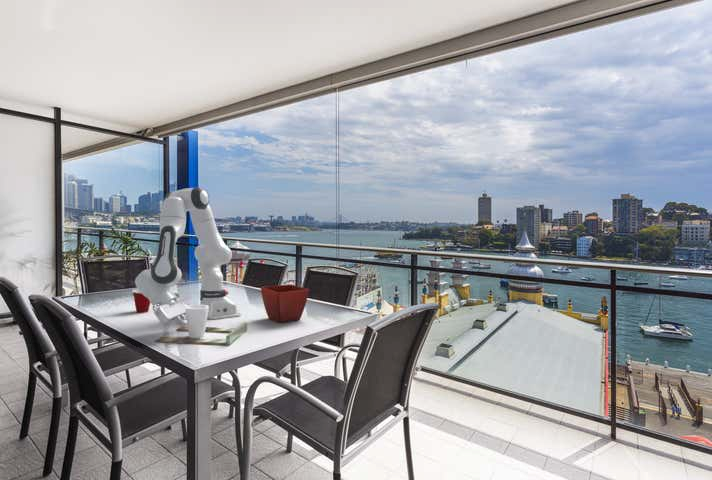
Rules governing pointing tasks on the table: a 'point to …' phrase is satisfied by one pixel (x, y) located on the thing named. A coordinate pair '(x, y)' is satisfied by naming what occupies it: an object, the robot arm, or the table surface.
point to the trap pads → (197, 338)
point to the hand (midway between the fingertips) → (185, 324)
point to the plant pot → (284, 302)
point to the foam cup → (197, 320)
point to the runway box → (230, 338)
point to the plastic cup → (140, 301)
